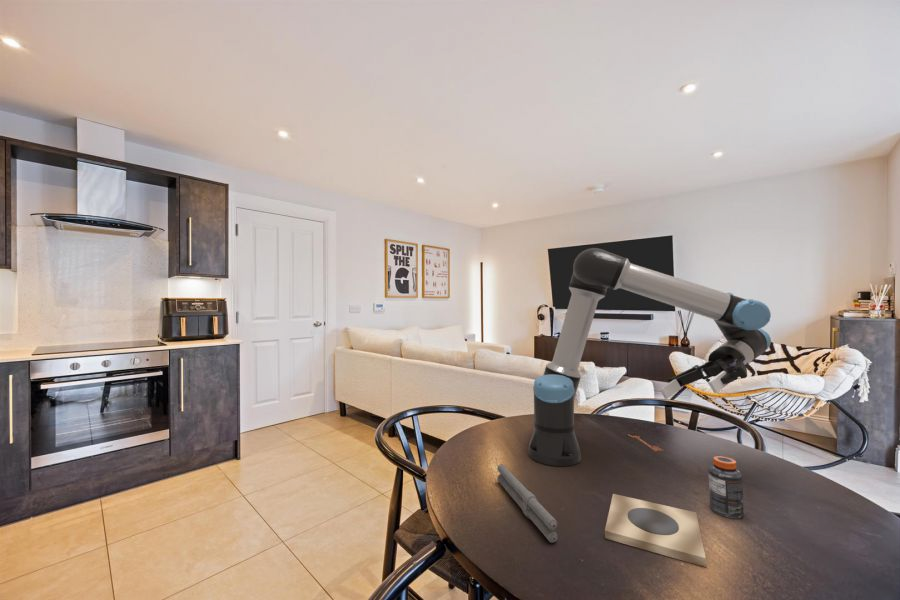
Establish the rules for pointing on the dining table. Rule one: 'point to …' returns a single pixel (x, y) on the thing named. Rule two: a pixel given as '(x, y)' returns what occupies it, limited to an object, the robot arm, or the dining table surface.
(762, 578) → the dining table surface
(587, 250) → the robot arm
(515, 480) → the metal rod assembly
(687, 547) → the stand
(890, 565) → the dining table surface
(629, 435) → the key
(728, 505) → the pill bottle
